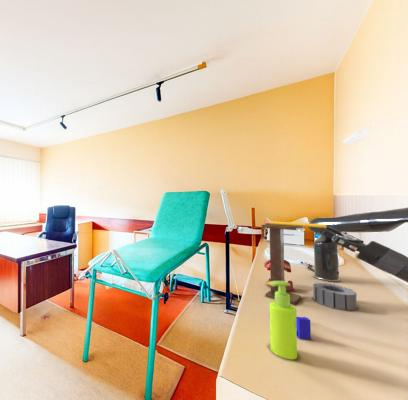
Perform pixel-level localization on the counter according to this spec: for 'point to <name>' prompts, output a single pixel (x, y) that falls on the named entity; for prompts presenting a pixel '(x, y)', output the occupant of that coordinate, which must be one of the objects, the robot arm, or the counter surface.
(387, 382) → the counter surface
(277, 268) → the brown pedestal stand
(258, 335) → the counter surface
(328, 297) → the grey segmented ring
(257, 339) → the counter surface
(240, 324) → the counter surface
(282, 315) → the soap dispenser
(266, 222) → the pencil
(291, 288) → the anatomical model
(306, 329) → the cable clip
